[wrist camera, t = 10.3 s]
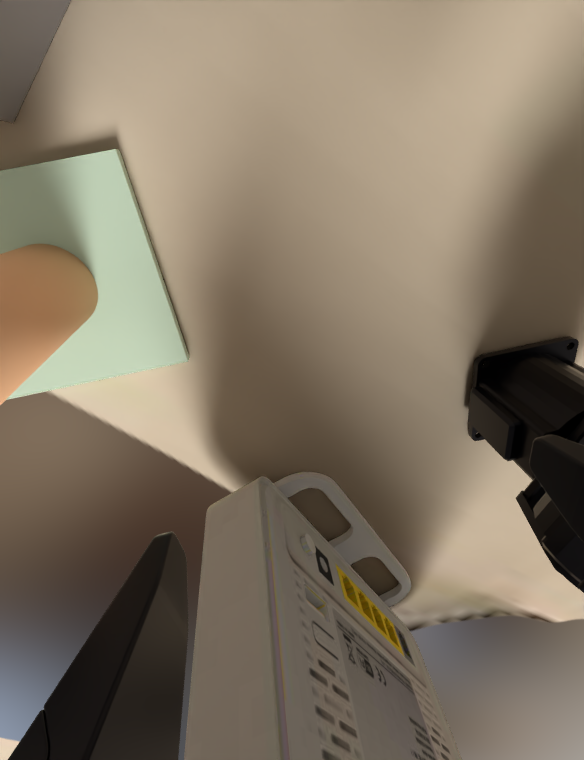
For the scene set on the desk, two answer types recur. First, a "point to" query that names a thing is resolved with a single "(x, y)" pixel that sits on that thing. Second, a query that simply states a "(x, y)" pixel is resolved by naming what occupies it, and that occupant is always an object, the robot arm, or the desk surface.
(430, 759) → the network device
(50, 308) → the plug
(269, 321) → the desk surface
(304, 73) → the desk surface
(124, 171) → the mat
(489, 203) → the desk surface
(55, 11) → the grey peg hole block
